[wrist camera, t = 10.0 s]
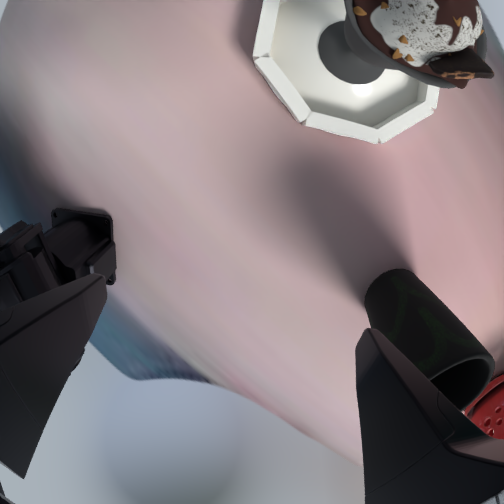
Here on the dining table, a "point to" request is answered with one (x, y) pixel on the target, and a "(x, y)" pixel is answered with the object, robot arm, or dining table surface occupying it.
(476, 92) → the dining table surface
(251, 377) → the dining table surface
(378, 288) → the cup
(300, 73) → the dish
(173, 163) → the dining table surface
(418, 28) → the sundae
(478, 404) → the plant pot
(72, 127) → the dining table surface
